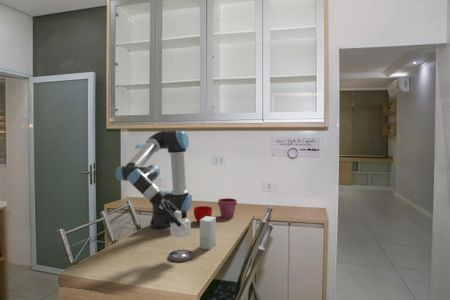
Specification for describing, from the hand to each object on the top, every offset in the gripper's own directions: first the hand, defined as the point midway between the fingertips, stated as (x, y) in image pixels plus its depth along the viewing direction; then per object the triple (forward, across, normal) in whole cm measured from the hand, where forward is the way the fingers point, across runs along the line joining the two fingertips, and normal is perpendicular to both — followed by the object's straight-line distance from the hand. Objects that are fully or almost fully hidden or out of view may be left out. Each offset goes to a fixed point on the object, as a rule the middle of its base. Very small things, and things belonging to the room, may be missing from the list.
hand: (186, 226), depth 134 cm
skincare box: (+18, -13, -4) cm, 23 cm away
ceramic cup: (+15, -57, -6) cm, 60 cm away
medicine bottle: (+1, 0, -5) cm, 5 cm away
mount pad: (+9, 0, -13) cm, 15 cm away
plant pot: (+27, -73, +6) cm, 78 cm away
